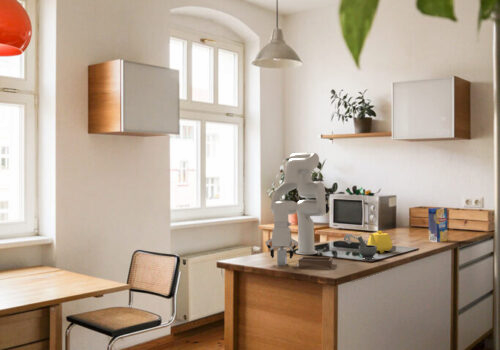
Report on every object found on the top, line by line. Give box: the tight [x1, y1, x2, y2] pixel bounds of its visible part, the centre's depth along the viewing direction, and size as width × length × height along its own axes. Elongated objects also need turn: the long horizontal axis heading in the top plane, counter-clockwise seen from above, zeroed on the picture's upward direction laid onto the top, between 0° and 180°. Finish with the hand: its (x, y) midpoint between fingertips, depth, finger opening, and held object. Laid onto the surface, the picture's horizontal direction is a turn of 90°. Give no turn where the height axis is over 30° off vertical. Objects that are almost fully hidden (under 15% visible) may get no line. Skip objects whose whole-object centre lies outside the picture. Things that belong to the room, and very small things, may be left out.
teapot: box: [366, 230, 393, 254], centre depth 306 cm, size 13×20×12 cm
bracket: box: [342, 233, 368, 245], centre depth 338 cm, size 3×21×10 cm, turn 50°
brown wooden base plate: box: [294, 256, 337, 270], centre depth 263 cm, size 12×20×4 cm, turn 77°
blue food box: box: [427, 207, 448, 243], centre depth 348 cm, size 7×11×22 cm, turn 124°
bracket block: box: [276, 247, 288, 267], centre depth 271 cm, size 6×4×9 cm, turn 167°
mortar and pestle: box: [356, 236, 378, 259], centre depth 284 cm, size 11×9×12 cm
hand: (281, 257), depth 271 cm, fingers open, 9 cm apart
